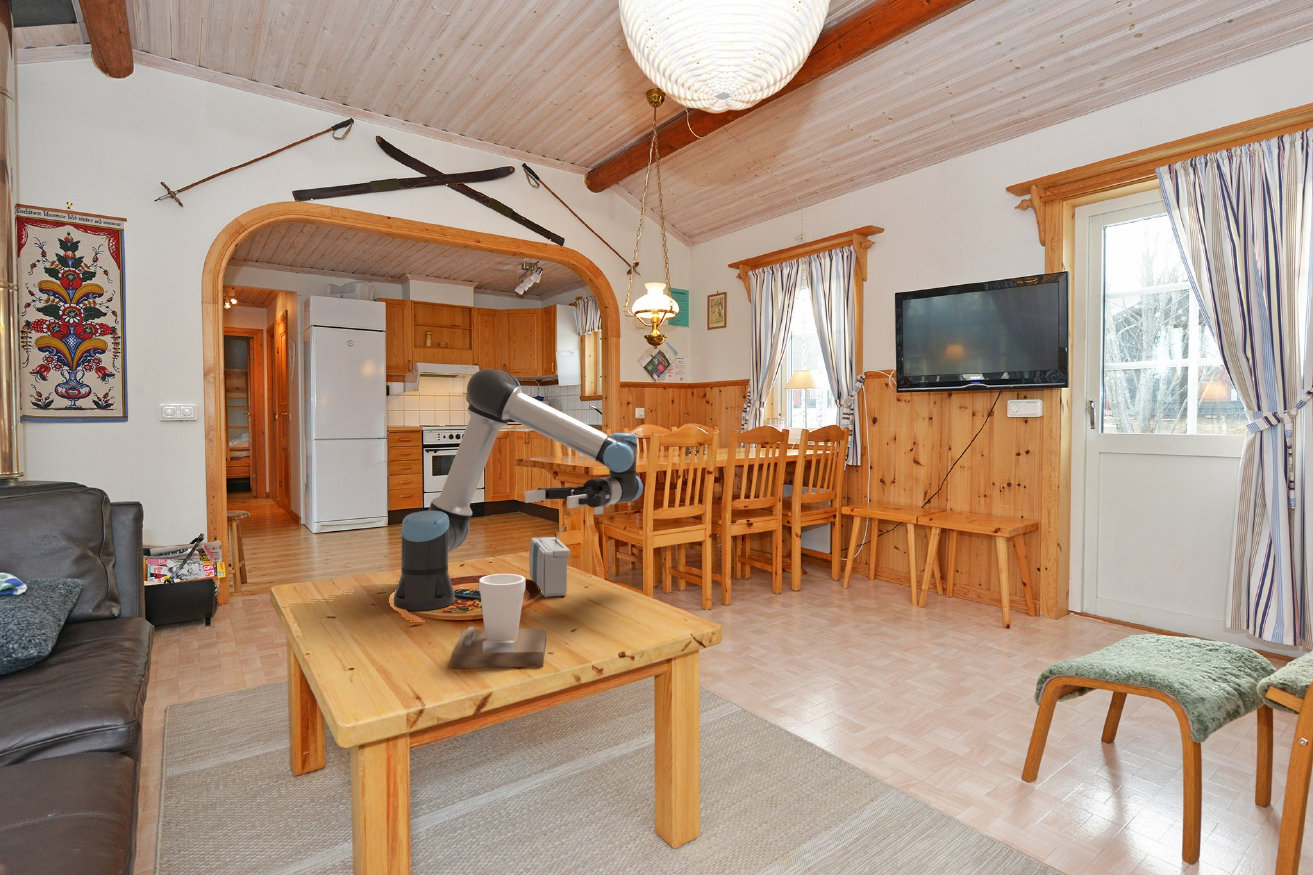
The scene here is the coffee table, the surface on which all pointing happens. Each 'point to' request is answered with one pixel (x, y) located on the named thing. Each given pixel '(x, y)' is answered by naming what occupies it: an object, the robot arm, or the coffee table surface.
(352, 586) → the coffee table surface
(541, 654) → the shelf
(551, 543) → the stereo radio cassette player
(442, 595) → the robot arm
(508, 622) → the foam cup
